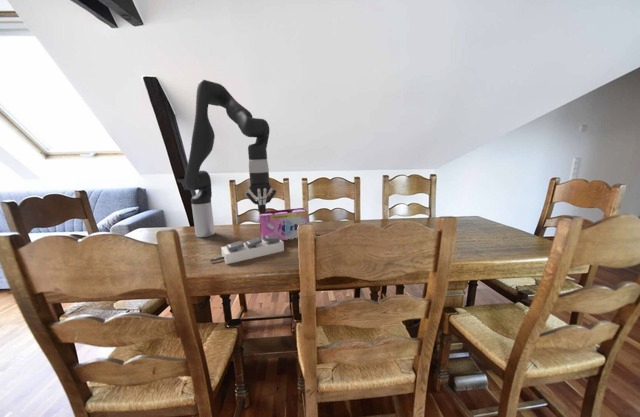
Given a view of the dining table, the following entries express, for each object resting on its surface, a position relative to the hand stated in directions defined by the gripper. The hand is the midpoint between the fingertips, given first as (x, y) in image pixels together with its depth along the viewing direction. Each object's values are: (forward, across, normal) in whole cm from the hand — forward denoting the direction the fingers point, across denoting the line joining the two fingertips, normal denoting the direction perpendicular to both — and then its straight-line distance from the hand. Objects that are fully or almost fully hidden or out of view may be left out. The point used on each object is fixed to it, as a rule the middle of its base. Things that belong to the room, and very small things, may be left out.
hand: (262, 213), depth 104 cm
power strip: (+17, +7, -2) cm, 19 cm away
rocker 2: (+12, +4, 0) cm, 13 cm away
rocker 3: (+12, -3, -1) cm, 13 cm away
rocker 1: (+12, +12, 0) cm, 17 cm away
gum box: (+18, -15, -14) cm, 27 cm away
